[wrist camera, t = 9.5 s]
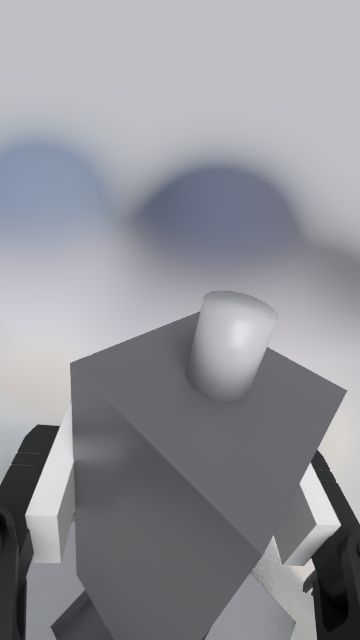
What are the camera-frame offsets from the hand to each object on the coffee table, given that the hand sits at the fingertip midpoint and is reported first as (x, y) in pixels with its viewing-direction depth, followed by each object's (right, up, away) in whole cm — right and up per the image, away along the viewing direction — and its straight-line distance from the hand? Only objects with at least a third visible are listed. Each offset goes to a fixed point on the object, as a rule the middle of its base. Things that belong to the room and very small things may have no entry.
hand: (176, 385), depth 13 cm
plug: (-1, -8, -1) cm, 9 cm away
